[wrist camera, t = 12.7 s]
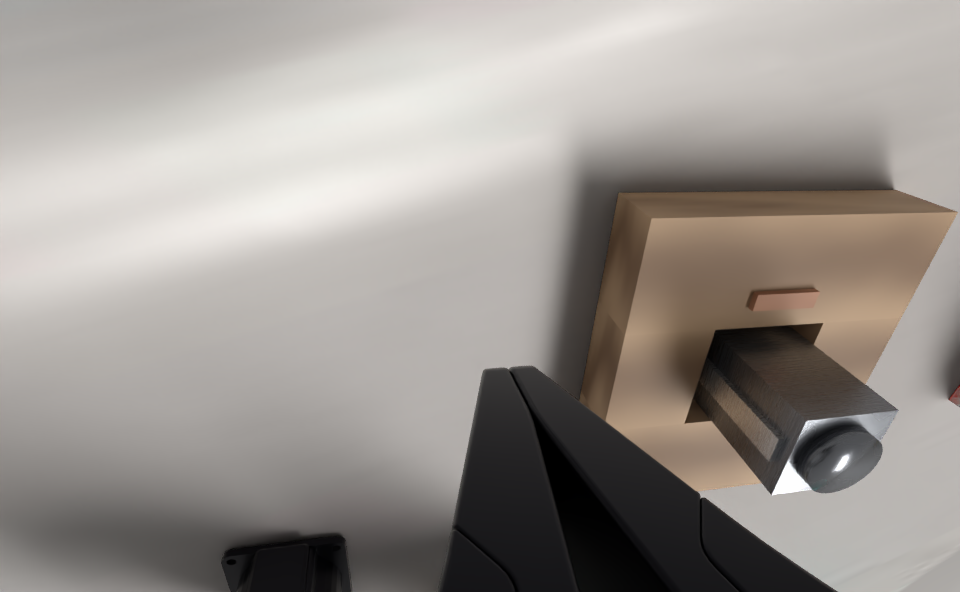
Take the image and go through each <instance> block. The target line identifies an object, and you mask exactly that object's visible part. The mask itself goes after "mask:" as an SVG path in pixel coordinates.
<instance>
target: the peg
mask: <svg viewBox="0 0 960 592" xmlns="http://www.w3.org/2000/svg"><path fill="white" fill-rule="evenodd" d="M693 399H694V400H695V401H696V403H697V404H698V405H699V406H700V408H701V409H702V410H703V411H704V412H705V414H706V415H707V416H708V417H709V419H710V420H711V421H712V422H713V424H714V425H715V426H716V427H717V428H718V430H719V431H720V432H721V433H722V435H723V436H724V437H725V438H726V440H727V441H728V442H729V443H730V444H731V446H732V447H733V448H734V449H735V451H736V452H737V453H738V454H739V456H740V457H741V458H742V459H743V461H744V462H745V463H746V464H747V465H748V467H749V468H750V469H751V470H752V472H753V473H754V474H755V475H756V477H757V478H758V479H759V480H760V481H761V483H762V484H763V485H764V486H765V488H766V489H767V490H768V491H769V493H770V494H771V495H776V494H783V493H790V492H797V491H804V490H811V489H812V490H814V491H816V492H819V493H832V492H836V491H840V490H843V489H845V488H847V487H850V486H851V485H853V484H855V483H857V482H858V481H860V480H861V479H863V478H864V477H865V476H866V475H867V474H869V473H870V472H871V471H872V470H873V468H874V467H875V466H876V465H877V463H878V462H879V460H880V458H881V455H882V444H881V443H880V442H881V440H882V438H883V436H884V435H885V433H886V431H887V429H888V428H889V426H890V424H891V423H892V421H893V419H894V417H895V416H896V414H897V412H898V411H899V410H898V409H896V408H895V407H894V406H892V405H891V404H890V403H889V402H887V401H886V400H885V399H883V398H882V397H881V396H879V395H878V394H877V393H876V392H874V391H873V390H872V389H870V388H869V387H868V386H867V385H865V384H864V383H863V382H861V381H860V380H859V379H857V378H856V377H855V376H854V375H852V374H851V373H850V372H848V371H847V370H846V369H845V368H843V367H842V366H841V365H839V364H838V363H837V362H835V361H834V360H833V359H832V358H830V357H829V356H828V355H826V354H825V353H824V352H823V351H821V350H820V349H819V348H817V347H816V346H815V345H813V344H812V343H811V342H810V341H808V340H807V339H806V338H804V337H803V336H802V335H801V334H799V333H798V332H797V331H795V330H794V329H793V328H791V327H790V326H789V325H783V326H768V327H753V328H737V329H722V330H715V333H714V336H713V339H712V342H711V345H710V348H709V351H708V354H707V357H706V360H705V363H704V366H703V369H702V372H701V375H700V378H699V381H698V384H697V387H696V390H695V393H694V396H693Z"/></svg>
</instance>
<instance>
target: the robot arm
mask: <svg viewBox="0 0 960 592" xmlns="http://www.w3.org/2000/svg"><path fill="white" fill-rule="evenodd" d="M221 564H222V567H223V570H224V573H225V576H226V579H227V582H228V585H229V588H230V591H231V592H352V585H351V577H350V569H349V562H348V554H347V546H346V540H345V538H343V537H340V536H335V537H327V538H319V539H311V540H303V541H295V542H288V543H280V544H272V545H264V546H256V547H248V548H240V549H232V550H228V551H226V552H225V553H224V554H223V557H222V561H221ZM438 592H837V591H836V590H834V589H833V588H831V587H830V586H828V585H827V584H825V583H824V582H822V581H821V580H819V579H818V578H816V577H815V576H813V575H812V574H810V573H809V572H807V571H806V570H804V569H803V568H801V567H800V566H798V565H797V564H795V563H794V562H793V561H791V560H790V559H788V558H787V557H785V556H784V555H782V554H781V553H779V552H778V551H776V550H775V549H774V548H772V547H771V546H769V545H768V544H766V543H765V542H763V541H762V540H761V539H759V538H758V537H757V536H755V535H754V534H753V533H751V532H750V531H749V530H747V529H746V528H744V527H743V526H742V525H740V524H739V523H738V522H736V521H735V520H734V519H732V518H731V517H730V516H728V515H727V514H726V513H724V512H723V511H722V510H720V509H719V508H718V507H717V506H715V505H714V504H713V503H711V502H710V501H709V500H707V499H706V498H701V499H700V494H699V493H698V492H697V491H695V490H694V489H693V488H691V487H690V486H689V485H688V484H686V483H685V482H684V481H682V480H681V479H680V478H678V477H677V476H676V475H675V474H673V473H672V472H671V471H669V470H668V469H667V468H665V467H664V466H663V465H662V464H660V463H659V462H658V461H656V460H655V459H654V458H652V457H651V456H650V455H649V454H647V453H646V452H645V451H643V450H642V449H641V448H639V447H638V446H637V445H636V444H634V443H633V442H632V441H630V440H629V439H628V438H626V437H625V436H624V435H623V434H621V433H620V432H619V431H617V430H616V429H615V428H613V427H612V426H611V425H610V424H608V423H607V422H606V421H604V420H603V419H602V418H600V417H599V416H598V415H597V414H595V413H594V412H593V411H591V410H590V409H589V408H587V407H586V406H585V405H584V404H582V403H581V402H580V401H578V400H577V399H576V398H574V397H573V396H572V395H571V394H569V393H568V392H567V391H565V390H564V389H563V388H561V387H560V386H559V385H558V384H556V383H555V382H554V381H552V380H551V379H550V378H548V377H547V376H546V375H545V374H543V373H542V372H541V371H539V370H538V369H537V368H535V367H533V366H518V367H511V368H510V369H509V370H508V369H507V368H491V369H485V370H484V371H483V373H482V378H481V383H480V388H479V393H478V398H477V403H476V408H475V413H474V418H473V423H472V428H471V433H470V438H469V443H468V448H467V453H466V459H465V464H464V469H463V474H462V479H461V484H460V489H459V494H458V499H457V504H456V509H455V514H454V519H453V524H452V532H451V533H450V538H449V543H448V548H447V553H446V558H445V562H444V566H443V571H442V575H441V579H440V583H439V587H438Z"/></svg>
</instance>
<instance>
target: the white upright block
mask: <svg viewBox="0 0 960 592" xmlns="http://www.w3.org/2000/svg"><path fill="white" fill-rule="evenodd" d="M949 400H950V401H951V402H953V403H954V404H956V405H957V406H959V407H960V385H959V386H958V388H957V389H956V390H955V392H954V393H953V394H952V396H951V397H950V398H949Z"/></svg>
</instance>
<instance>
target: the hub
mask: <svg viewBox="0 0 960 592" xmlns="http://www.w3.org/2000/svg"><path fill="white" fill-rule="evenodd" d="M957 213H958V212H956V211H953V210H950V209H948V208H945V207H942V206H939V205H936V204H934V203H931V202H928V201H925V200H923V199H920V198H917V197H914V196H911V195H909V194H906V193H903V192H900V191H897V190H833V191H737V192H641V193H618V198H617V203H616V209H615V214H614V219H613V225H612V230H611V235H610V240H609V246H608V251H607V256H606V262H605V267H604V272H603V278H602V283H601V288H600V293H599V299H598V304H597V309H596V315H595V320H594V325H593V330H592V336H591V341H590V346H589V352H588V357H587V362H586V368H585V373H584V378H583V383H582V389H581V394H580V399H579V401H580V402H581V403H582V404H584V405H585V406H586V407H587V408H589V409H590V410H591V411H593V412H594V413H595V414H597V415H598V416H599V417H600V418H602V419H603V420H604V421H606V422H607V423H608V424H610V425H611V426H612V427H613V428H615V429H616V430H617V431H619V432H620V433H621V434H623V435H624V436H625V437H626V438H628V439H629V440H630V441H632V442H633V443H634V444H636V445H637V446H638V447H639V448H641V449H642V450H643V451H645V452H646V453H647V454H649V455H650V456H651V457H652V458H654V459H655V460H656V461H658V462H659V463H660V464H662V465H663V466H664V467H665V468H667V469H668V470H669V471H671V472H672V473H673V474H675V475H676V476H677V477H678V478H680V479H681V480H682V481H684V482H685V483H686V484H688V485H689V486H690V487H691V488H693V489H694V490H695V491H704V490H711V489H719V488H727V487H735V486H743V485H751V484H758V483H761V481H760V480H759V479H758V478H757V477H756V475H755V474H754V473H753V472H752V470H751V469H750V468H749V467H748V465H747V464H746V463H745V462H744V461H743V459H742V458H741V457H740V456H739V454H738V453H737V452H736V451H735V449H734V448H733V447H732V446H731V444H730V443H729V442H728V441H727V440H726V438H725V437H724V436H723V435H722V433H721V432H720V431H719V430H718V428H717V427H716V426H715V425H714V424H713V422H712V421H711V420H710V419H709V417H708V416H707V415H706V414H705V412H704V411H703V410H702V409H701V408H700V406H699V405H698V404H697V403H696V401H695V400H694V399H693V396H694V393H695V390H696V387H697V384H698V381H699V378H700V375H701V372H702V369H703V366H704V363H705V360H706V357H707V354H708V351H709V348H710V345H711V342H712V339H713V336H714V333H715V330H722V329H737V328H753V327H768V326H783V325H789V326H790V327H791V328H793V329H794V330H795V331H797V332H798V333H799V334H801V335H802V336H803V337H804V338H806V339H807V340H808V341H810V342H811V343H812V344H813V345H815V346H816V347H817V348H819V349H820V350H821V351H823V352H824V353H825V354H826V355H828V356H829V357H830V358H832V359H833V360H834V361H835V362H837V363H838V364H839V365H841V366H842V367H843V368H845V369H846V370H847V371H848V372H850V373H851V374H852V375H854V376H855V377H856V378H857V379H859V380H860V381H861V382H863V383H864V384H866V382H867V380H868V378H869V377H870V375H871V373H872V371H873V369H874V367H875V365H876V364H877V362H878V360H879V358H880V356H881V354H882V352H883V351H884V349H885V347H886V345H887V343H888V341H889V339H890V338H891V336H892V334H893V332H894V330H895V328H896V326H897V325H898V323H899V321H900V319H901V317H902V315H903V313H904V312H905V310H906V308H907V306H908V304H909V302H910V300H911V298H912V297H913V295H914V293H915V291H916V289H917V287H918V285H919V284H920V282H921V280H922V278H923V276H924V274H925V272H926V271H927V269H928V267H929V265H930V263H931V261H932V259H933V258H934V256H935V254H936V252H937V250H938V248H939V246H940V245H941V243H942V241H943V239H944V237H945V235H946V233H947V232H948V230H949V228H950V226H951V224H952V222H953V220H954V219H955V217H956V215H957Z"/></svg>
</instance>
